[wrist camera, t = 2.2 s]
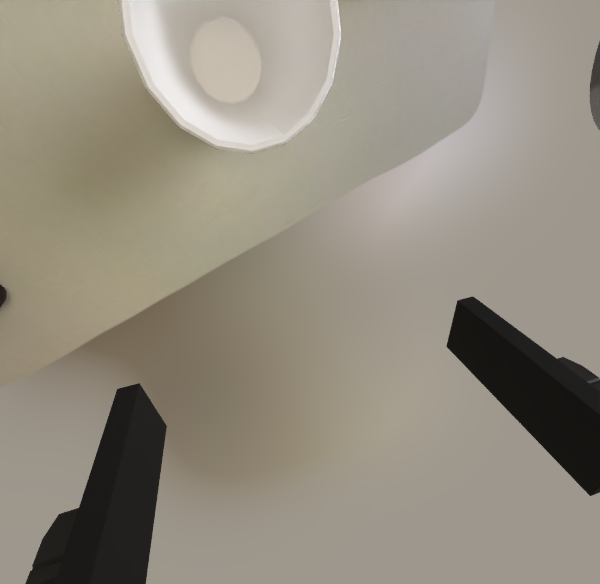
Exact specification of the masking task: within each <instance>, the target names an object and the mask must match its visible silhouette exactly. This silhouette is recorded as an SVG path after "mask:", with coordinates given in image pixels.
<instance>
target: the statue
mask: <svg viewBox="0 0 600 584" xmlns="http://www.w3.org/2000/svg"><path fill="white" fill-rule="evenodd" d="M5 300H6V291H5V289H4V288H3V287H2V286H1V285H0V307H1V306H2V304H3V303H4V301H5Z"/></svg>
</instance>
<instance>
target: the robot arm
mask: <svg viewBox="0 0 600 584" xmlns="http://www.w3.org/2000/svg"><path fill="white" fill-rule="evenodd" d="M447 348H448V349H449V350H450V351H451V352H452V353H453V354H454V355H455V356H456V357H457V358H458V359H459V360H460V361H461V362H462V363H463V364H464V365H465V366H466V367H467V368H468V369H469V370H470V371H471V372H472V374H474V376H475V377H476V378H477V379H478V380H479V381H480V382H481V383H482V384H483V385H484V386H485V387H486V388H487V389H488V390H489V391H490V392H491V393H492V394H493V395H494V396H495V397H496V398H497V400H499V402H500V403H501V404H502V405H503V406H504V407H505V408H506V409H507V410H508V411H509V412H510V413H511V414H512V415H513V416H514V417H515V418H516V419H517V420H518V421H519V422H520V423H521V424H522V425H523V427H525V429H526V430H527V431H528V432H529V433H530V434H531V435H532V436H533V437H534V438H535V439H536V440H537V441H538V442H539V443H540V444H541V445H542V446H543V447H544V448H545V449H546V450H547V452H549V454H550V455H551V456H552V457H553V458H554V459H555V460H556V461H557V462H558V463H559V464H560V465H561V466H562V467H563V468H564V469H565V470H566V471H567V472H568V473H569V474H570V475H571V476H572V478H573V479H574V480H575V481H576V482H577V483H578V484H579V485H580V486H581V487H582V488H583V489H584V490H585V491H586V492H587V493H588V494H589V495H590V496H591V495H594V494H597V493H599V492H600V379H599V377H597V376H596V375H595V374H593V373H592V372H590V371H589V370H587V369H586V368H585V367H583V366H581V365H579V364H577V363H575V362H573V361H571V360H568V359H566V358H564V357H562V358H558V359H556V358H555V357H554V356H552V355H551V354H550V353H548V352H547V351H546V350H544V349H543V348H542V347H540V346H539V345H538V344H536V343H535V342H534V341H532V340H531V339H530V338H528V337H527V336H525V335H524V334H523V333H521V332H520V331H518V330H517V329H516V328H514V327H513V326H512V325H511V324H509V323H508V322H507V321H505V320H504V319H503V318H501V317H500V316H499V315H497V314H496V313H495V312H493V311H492V310H491V309H489V308H488V307H486V306H485V305H484V304H483V303H481V302H480V301H479V300H477V299H476V298H474V297H469V298H466V299H462V300H458V301H457V305H456V310H455V313H454V318H453V322H452V326H451V330H450V334H449V338H448V343H447ZM166 427H167V426H166V424H165V423H164V421H163V420H162V418H161V416H160V415H159V413H158V412H157V410H156V409H155V407H154V406H153V404H152V402H151V401H150V399H149V398H148V396H147V394H146V393H145V391H144V390H143V388H142V387H141V385H140V383H139V384H135V385H131V386H127V387H123V388H120V389H117V392H116V395H115V398H114V401H113V404H112V407H111V411H110V414H109V417H108V420H107V423H106V426H105V429H104V432H103V435H102V438H101V441H100V445H99V448H98V451H97V454H96V457H95V460H94V463H93V467H92V470H91V473H90V476H89V479H88V482H87V485H86V488H85V491H84V494H83V498H82V501H81V504H80V507H79V508H77V509H74V510H71V511H68V512H64V513H61V514H59V515H58V517H57V518H56V520H55V521H54V523H53V524H52V526H51V527H50V529H49V530H48V532H47V533H46V535H45V536H44V538H43V539H42V542H41V544H40V547H39V550H38V552H37V555H36V558H35V560H34V563H33V565H32V566H33V569H32V571H30V573H29V576H28V579H27V581H26V584H146V577H147V569H148V562H149V553H150V547H151V539H152V531H153V524H154V517H155V509H156V501H157V494H158V486H159V479H160V472H161V464H162V456H163V449H164V442H165V434H166Z"/></svg>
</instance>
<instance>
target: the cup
mask: <svg viewBox="0 0 600 584" xmlns="http://www.w3.org/2000/svg"><path fill="white" fill-rule="evenodd" d="M118 2H119V11H120V20H121V29H122V36H123V38H124V40H125V43H126V45H127V47H128V49H129V52H130V54H131V56H132V58H133V61H134V63H135V65H136V68H137V70H138V72H139V74H140V77H141V79H142V81H143V83H144V86H145V88H146V90H147V91H148V92H149V93H150V94H151V95H152V96H153V98H154V99H155V100H156V101H157V102H158V103H159V105H160V106H161V107H162V108H163V109H164V110H165V111H166V113H167V114H168V115H169V116H170V117H171V118H172V120H173V121H174V122H175V123H176V124H177V125H178V126H179V127H180V128H181V129H183V130H185V131H187V132H188V133H190V134H192V135H194V136H195V137H197V138H199V139H200V140H202V141H204V142H206V143H207V144H209V145H211V146H212V147H214V148H216V149H223V150H230V151H237V152H244V153H252V154H253V153H256V152H260V151H263V150H266V149H270V148H273V147H276V146H280V145H283V144H286V143H287V142H288V141H290V140H291V139H292V138H293V137H294V136H295V135H296V134H298V133H299V132H300V131H301V130H302V129H303V128H305V127H306V126H307V125H308V124H309V123H310V122H312V121H313V120H314V118H315V116H316V114H317V112H318V110H319V109H320V107H321V105H322V103H323V101H324V99H325V97H326V95H327V94H328V92H329V90H330V88H331V86H332V84H333V80H334V75H335V69H336V64H337V58H338V52H339V47H340V41H341V27H340V18H339V8H338V0H118Z"/></svg>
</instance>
